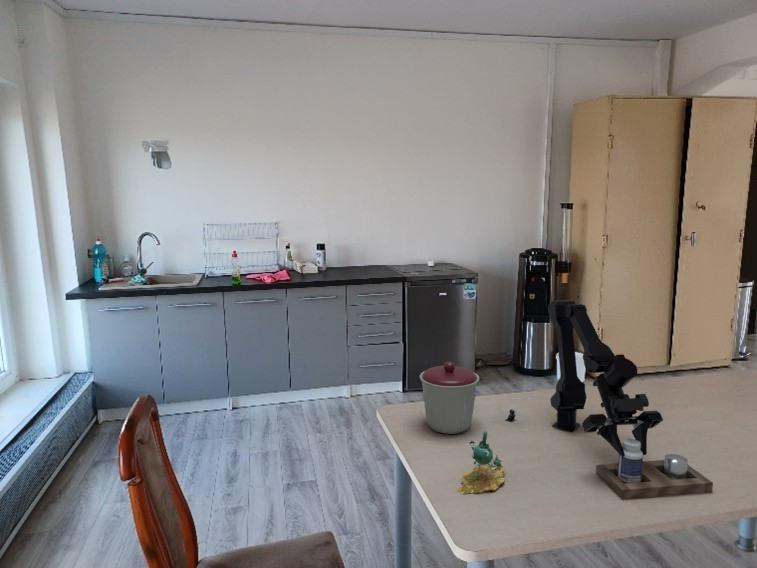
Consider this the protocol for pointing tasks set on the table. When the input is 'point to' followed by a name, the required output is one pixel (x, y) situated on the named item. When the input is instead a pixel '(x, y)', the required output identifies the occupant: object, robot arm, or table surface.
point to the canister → (449, 397)
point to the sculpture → (511, 416)
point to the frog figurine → (483, 470)
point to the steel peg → (675, 467)
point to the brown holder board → (653, 482)
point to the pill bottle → (630, 462)
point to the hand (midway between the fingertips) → (634, 455)
